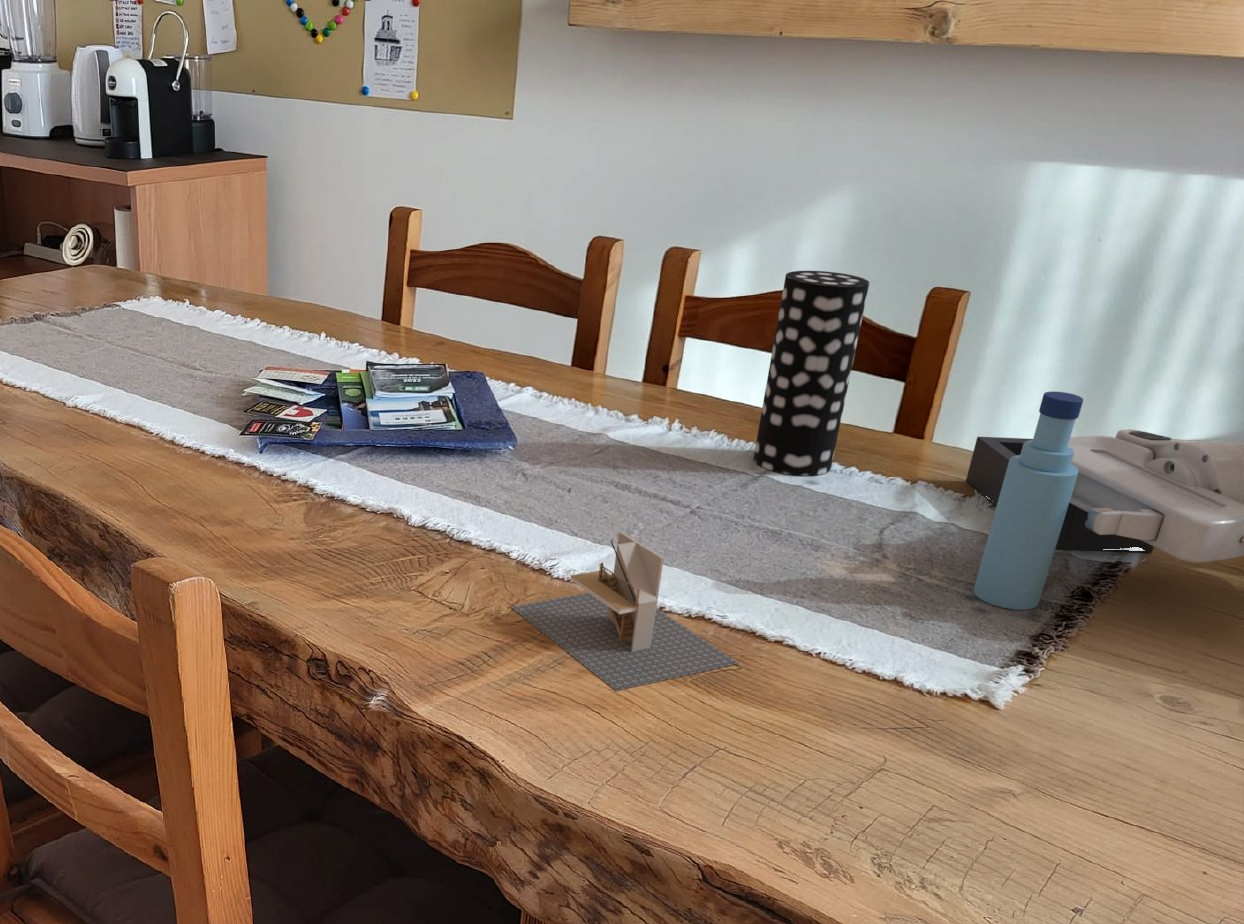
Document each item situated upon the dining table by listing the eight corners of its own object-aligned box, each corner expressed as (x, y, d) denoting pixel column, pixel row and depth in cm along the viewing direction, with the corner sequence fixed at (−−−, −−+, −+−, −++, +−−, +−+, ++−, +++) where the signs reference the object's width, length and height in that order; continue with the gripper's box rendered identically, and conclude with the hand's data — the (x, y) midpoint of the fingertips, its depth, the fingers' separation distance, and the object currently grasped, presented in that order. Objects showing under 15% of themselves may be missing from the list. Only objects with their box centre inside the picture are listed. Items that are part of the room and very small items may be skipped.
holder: (1058, 484, 135) (1072, 440, 133) (1152, 552, 119) (1169, 503, 116) (965, 480, 135) (977, 436, 133) (1045, 548, 119) (1060, 499, 116)
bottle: (1022, 585, 110) (1080, 388, 102) (1049, 611, 106) (1112, 406, 98) (963, 583, 110) (1017, 385, 102) (988, 609, 106) (1046, 404, 98)
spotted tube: (846, 468, 137) (886, 282, 128) (796, 480, 133) (834, 289, 124) (787, 446, 143) (820, 268, 134) (737, 457, 139) (768, 274, 130)
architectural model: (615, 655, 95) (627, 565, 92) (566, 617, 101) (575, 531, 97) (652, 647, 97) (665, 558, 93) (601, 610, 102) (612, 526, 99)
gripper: (1280, 577, 99) (1132, 586, 96) (1099, 488, 117) (969, 494, 114) (1309, 502, 96) (1158, 510, 94) (1119, 423, 114) (986, 427, 111)
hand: (1052, 500), depth 104 cm, fingers open, 8 cm apart
